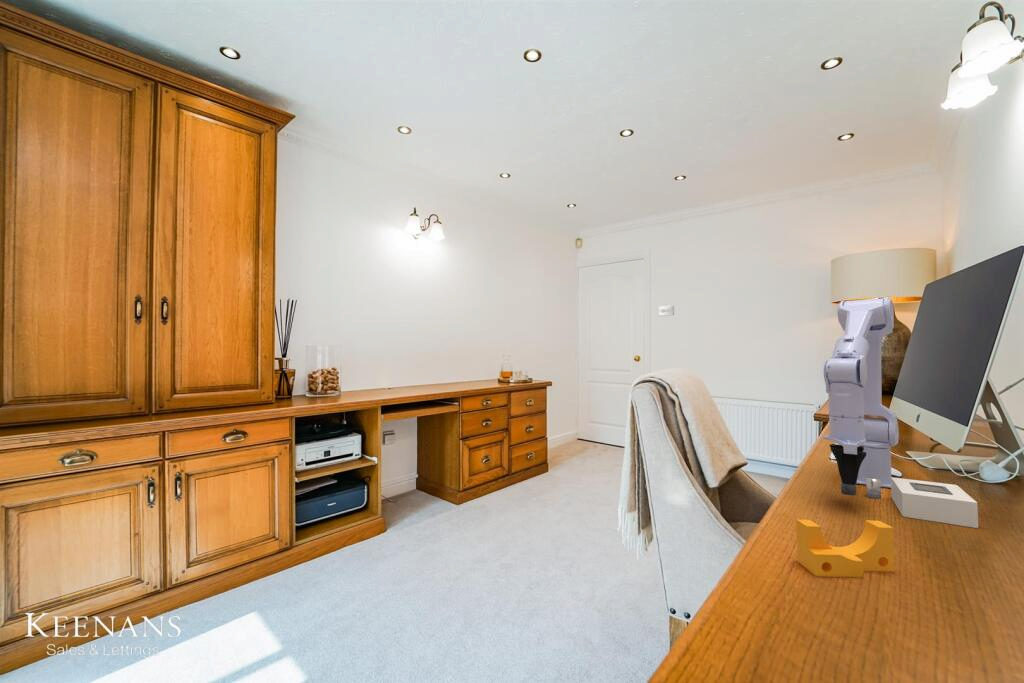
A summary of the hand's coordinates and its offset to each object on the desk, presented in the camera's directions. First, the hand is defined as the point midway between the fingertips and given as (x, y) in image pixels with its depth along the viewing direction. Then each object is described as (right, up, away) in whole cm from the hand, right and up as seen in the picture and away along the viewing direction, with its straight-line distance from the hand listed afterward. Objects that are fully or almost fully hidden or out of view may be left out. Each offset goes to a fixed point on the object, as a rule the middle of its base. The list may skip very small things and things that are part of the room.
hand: (848, 482), depth 88 cm
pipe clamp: (-20, -5, -25) cm, 33 cm away
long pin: (0, -2, 0) cm, 2 cm away
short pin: (+9, -5, +5) cm, 11 cm away
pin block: (+13, -5, -4) cm, 14 cm away
